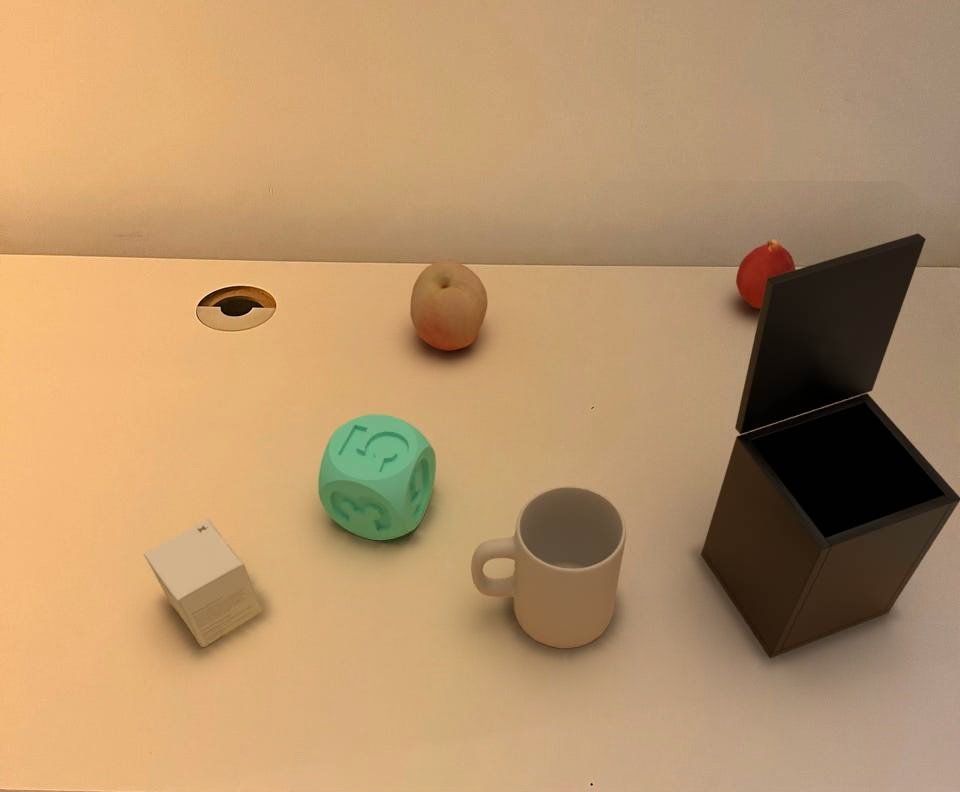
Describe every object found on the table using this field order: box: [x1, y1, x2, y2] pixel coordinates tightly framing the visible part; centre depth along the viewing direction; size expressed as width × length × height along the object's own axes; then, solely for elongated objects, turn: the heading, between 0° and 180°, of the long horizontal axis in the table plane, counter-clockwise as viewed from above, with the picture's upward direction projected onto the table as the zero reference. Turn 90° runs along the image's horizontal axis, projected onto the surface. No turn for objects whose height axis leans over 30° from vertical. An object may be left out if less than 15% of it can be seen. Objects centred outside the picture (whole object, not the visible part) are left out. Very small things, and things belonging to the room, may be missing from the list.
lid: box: [734, 233, 926, 435], centre depth 66 cm, size 12×12×1 cm
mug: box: [470, 485, 627, 649], centre depth 76 cm, size 12×8×11 cm
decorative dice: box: [317, 413, 437, 541], centre depth 83 cm, size 8×8×8 cm
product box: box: [143, 518, 263, 648], centre depth 78 cm, size 6×6×7 cm
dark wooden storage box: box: [700, 392, 960, 659], centre depth 75 cm, size 12×12×15 cm
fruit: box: [409, 259, 489, 351], centre depth 95 cm, size 8×8×8 cm
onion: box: [735, 239, 797, 310], centre depth 97 cm, size 6×6×8 cm
